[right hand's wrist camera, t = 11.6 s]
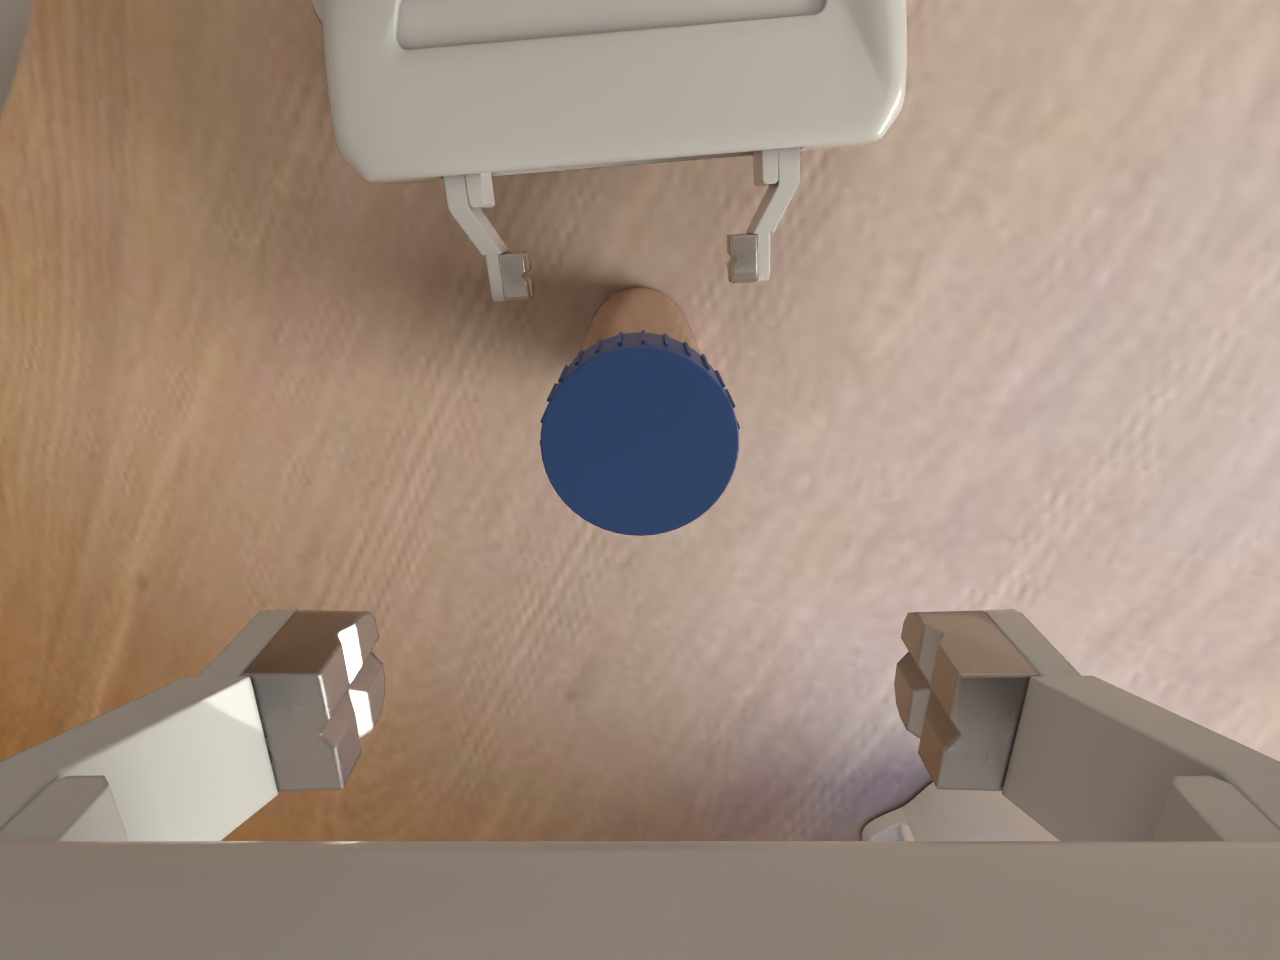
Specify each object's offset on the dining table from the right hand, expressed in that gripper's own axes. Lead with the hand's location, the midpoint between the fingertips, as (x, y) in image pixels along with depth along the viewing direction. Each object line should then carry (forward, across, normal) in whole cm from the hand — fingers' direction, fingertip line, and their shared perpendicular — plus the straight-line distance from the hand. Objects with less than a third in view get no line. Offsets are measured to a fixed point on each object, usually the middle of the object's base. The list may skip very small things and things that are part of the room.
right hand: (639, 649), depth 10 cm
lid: (+10, 0, 0) cm, 10 cm away
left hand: (+20, 0, +3) cm, 21 cm away
